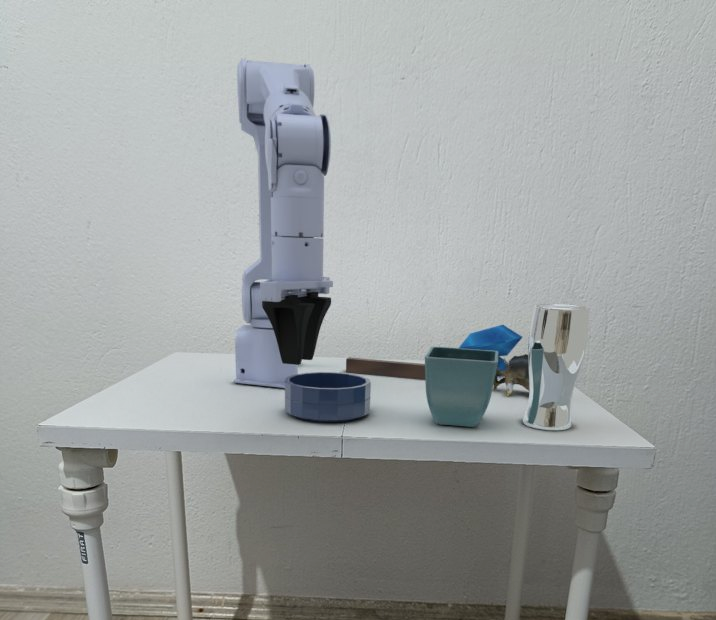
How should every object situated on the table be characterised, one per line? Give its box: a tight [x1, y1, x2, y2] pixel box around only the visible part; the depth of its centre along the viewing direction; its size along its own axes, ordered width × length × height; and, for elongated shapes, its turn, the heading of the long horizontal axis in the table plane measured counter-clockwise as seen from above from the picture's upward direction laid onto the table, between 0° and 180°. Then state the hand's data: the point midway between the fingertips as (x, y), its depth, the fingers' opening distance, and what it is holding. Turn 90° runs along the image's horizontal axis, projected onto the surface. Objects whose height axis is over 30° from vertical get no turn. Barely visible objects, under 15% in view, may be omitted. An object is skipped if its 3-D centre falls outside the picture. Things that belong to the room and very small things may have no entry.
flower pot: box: [424, 346, 498, 428], centre depth 85 cm, size 9×9×9 cm
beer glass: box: [522, 303, 590, 431], centre depth 84 cm, size 7×7×15 cm
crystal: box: [458, 324, 523, 377], centre depth 118 cm, size 7×9×12 cm
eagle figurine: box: [492, 353, 529, 397], centre depth 103 cm, size 8×7×9 cm
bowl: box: [284, 371, 372, 423], centre depth 88 cm, size 11×11×4 cm
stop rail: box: [345, 356, 426, 381], centre depth 115 cm, size 16×2×2 cm, turn 71°
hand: (297, 361), depth 77 cm, fingers open, 3 cm apart
